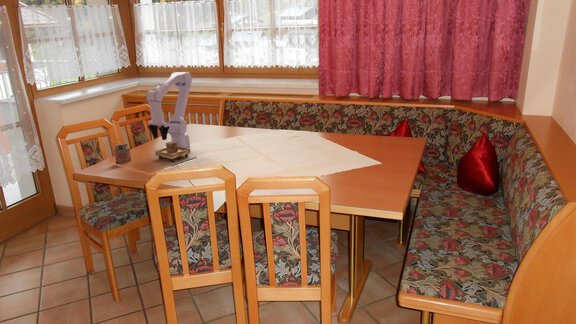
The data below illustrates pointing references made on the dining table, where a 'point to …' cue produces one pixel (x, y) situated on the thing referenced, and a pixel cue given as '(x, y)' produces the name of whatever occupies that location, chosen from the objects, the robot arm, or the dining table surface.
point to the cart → (180, 152)
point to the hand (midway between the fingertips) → (160, 139)
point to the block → (171, 147)
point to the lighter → (122, 153)
